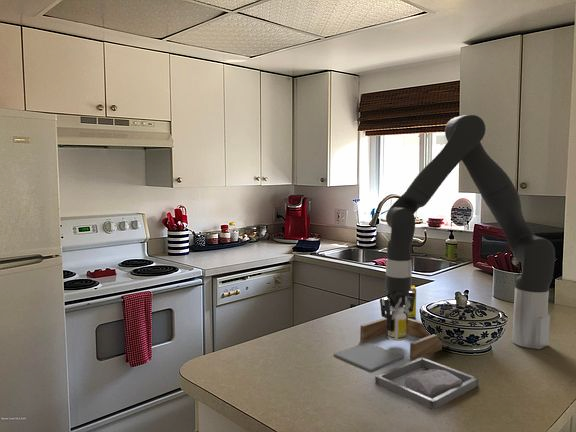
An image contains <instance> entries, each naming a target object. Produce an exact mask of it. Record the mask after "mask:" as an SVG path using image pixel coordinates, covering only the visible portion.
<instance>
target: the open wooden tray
mask: <svg viewBox="0 0 576 432" xmlns="http://www.w3.org/2000/svg"><path fill="white" fill-rule="evenodd" d="M359 335H360V337H359V339H360V342H362V343H366V342H368V341H370V340H372V339H376V338H379V337H381V336H385V335H388V330H387V318H385V317H382V318H380V319H376V320H373V321H370V322H367V323H363V324H361V325H360V333H359ZM406 335H408V336H411V337H414V338H417V340H415V341H412V342H411V341H410V343H409V361H410V362H411V361H413V360H415V359H418V358H420V357H422V358H425V357H427V356H429V355H432V354H434V353H437V352H439V351H441V350H443V349H442V341H441V340H440V339H439V338H438V337H437V335H435V334H432V335H431V334H429V333H428V332H427V331H426V329H425V328H424V326H423V324H422V321H419V320H416V319H410V318H408V323H407V327H406Z"/></svg>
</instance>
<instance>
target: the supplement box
mask: <svg viewBox="0 0 576 432" xmlns="http://www.w3.org/2000/svg"><path fill="white" fill-rule="evenodd" d="M410 292H414V293H415V300H414V307H413V311H412V312H409V315H408V318H410V319H413V320H416V318H417V317H416V316H417V288H416V286H415V285H414V284H413V285H412V284H411V290H410ZM408 305H409V307H410V303H409V304H408Z"/></svg>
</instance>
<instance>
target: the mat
mask: <svg viewBox="0 0 576 432" xmlns="http://www.w3.org/2000/svg"><path fill="white" fill-rule="evenodd" d="M333 356H334V357H337V358H339V359H341V360H343V361H346V362H348V363H350V364H353V365H354V366H357V367H359V368H362V369H364V370H366V371H368V372H370V373H371V372H374V371H375V370H378V369H381V368H383V367H386V366H389V365H391V364H394V363H396V362H398V361H400V360H403V359H404V357H405V356H404V355H401V354H399V353H397V352H393V351H391V350H388V349H386V348H384V347H381V346H378V345H375V344H373V343H370V342H368V341H365V342H362V343H359V344H357V345H354V346H351V347H349V348H345V349H342V350H340V351H337V352H334V353H333Z"/></svg>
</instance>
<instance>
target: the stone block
mask: <svg viewBox="0 0 576 432" xmlns="http://www.w3.org/2000/svg"><path fill="white" fill-rule="evenodd" d="M462 383H463V382H462V381H461V380H460V379H459V378H457V377H456V376H454V375H453V374H451V373H449V372H447V371H444V370H439V369H438V370H436V369H427V370H424V371H423V370H422V371H420V372H419V373H417V374H412V375H407V376H405V380H404V385H405V386H404V387H406V388H409V389H411V390H413V391H415V392H418V393H420V394H422V395H425V396H427V397H429V398H431V399H433V398H435V397H437V396H439V395H441V394H442V393H444V392H446V391H448V390H450V389H452V388H454V387H456V386H458V385H460V384H462Z"/></svg>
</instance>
